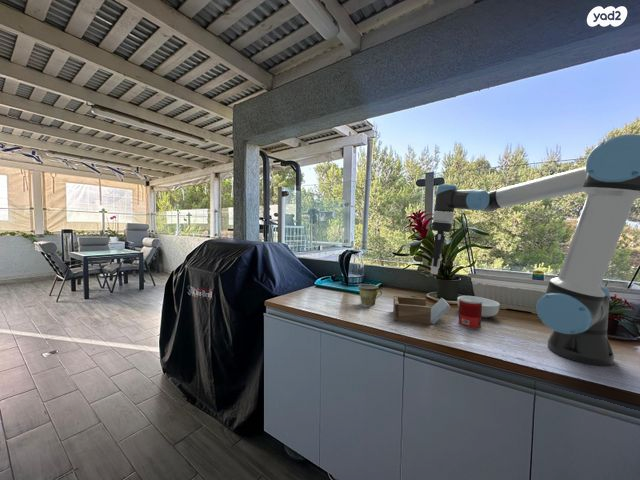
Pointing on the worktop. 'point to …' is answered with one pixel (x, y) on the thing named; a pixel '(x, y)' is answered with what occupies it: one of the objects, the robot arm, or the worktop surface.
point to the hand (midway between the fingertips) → (435, 270)
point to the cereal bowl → (485, 306)
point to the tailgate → (439, 310)
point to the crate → (411, 310)
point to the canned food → (470, 312)
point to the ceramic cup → (368, 294)
